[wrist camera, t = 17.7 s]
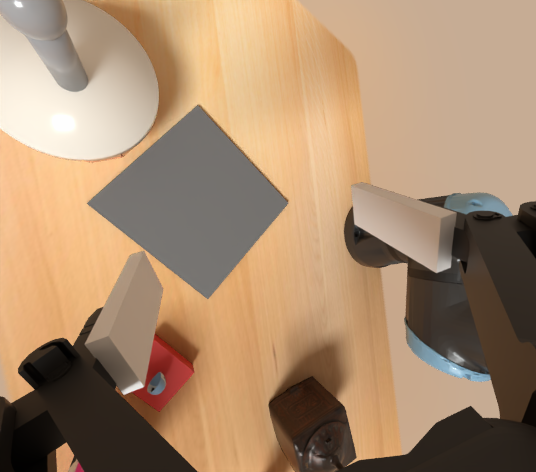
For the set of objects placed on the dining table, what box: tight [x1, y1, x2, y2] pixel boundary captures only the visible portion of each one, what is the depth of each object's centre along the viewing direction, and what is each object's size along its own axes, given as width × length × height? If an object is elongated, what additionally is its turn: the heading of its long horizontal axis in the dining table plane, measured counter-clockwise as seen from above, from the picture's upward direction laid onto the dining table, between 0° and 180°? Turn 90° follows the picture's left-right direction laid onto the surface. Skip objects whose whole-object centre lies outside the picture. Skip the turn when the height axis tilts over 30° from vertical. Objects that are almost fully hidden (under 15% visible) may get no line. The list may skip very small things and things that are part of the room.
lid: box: [0, 0, 159, 161], centre depth 23 cm, size 18×18×13 cm
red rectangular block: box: [132, 334, 194, 412], centre depth 36 cm, size 8×7×6 cm
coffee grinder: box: [269, 376, 356, 472], centre depth 40 cm, size 16×11×18 cm
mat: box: [87, 105, 288, 299], centre depth 41 cm, size 22×22×1 cm
